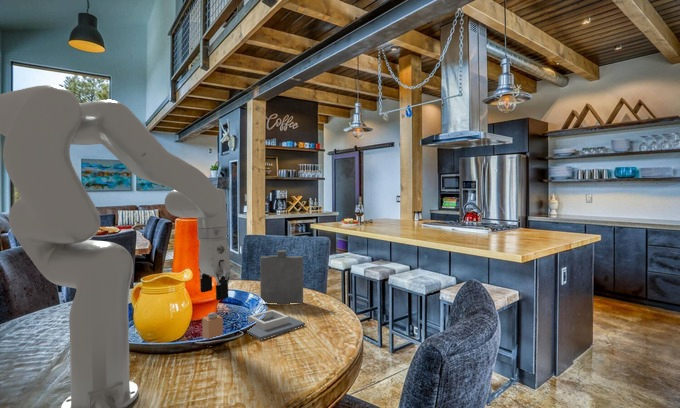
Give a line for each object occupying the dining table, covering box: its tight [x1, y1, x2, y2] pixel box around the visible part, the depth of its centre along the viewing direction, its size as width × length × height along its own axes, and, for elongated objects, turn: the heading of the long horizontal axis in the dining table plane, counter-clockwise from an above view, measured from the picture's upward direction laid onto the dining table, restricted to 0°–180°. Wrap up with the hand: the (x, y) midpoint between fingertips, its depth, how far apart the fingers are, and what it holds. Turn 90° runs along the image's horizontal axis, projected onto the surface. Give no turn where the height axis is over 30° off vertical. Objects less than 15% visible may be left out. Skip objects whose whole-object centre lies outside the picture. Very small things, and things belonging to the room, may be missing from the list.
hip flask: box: [259, 249, 304, 304], centre depth 132 cm, size 16×4×20 cm, turn 92°
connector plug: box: [201, 312, 224, 348], centre depth 97 cm, size 4×4×8 cm
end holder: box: [246, 309, 306, 341], centre depth 110 cm, size 16×16×3 cm
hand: (214, 295), depth 98 cm, fingers open, 9 cm apart
